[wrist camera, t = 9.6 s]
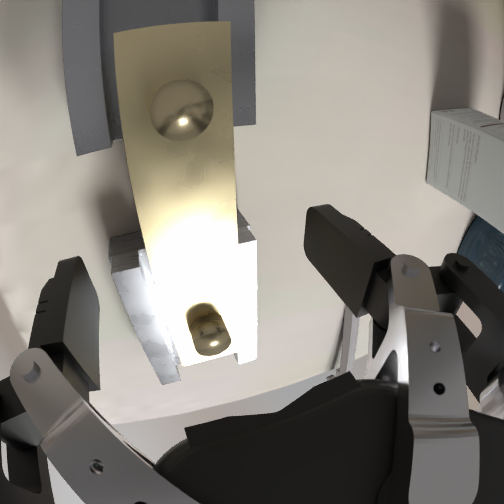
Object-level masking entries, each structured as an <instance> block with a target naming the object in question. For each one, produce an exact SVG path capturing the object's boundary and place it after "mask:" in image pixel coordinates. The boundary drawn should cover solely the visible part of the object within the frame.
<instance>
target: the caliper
mask: <svg viewBox="0 0 504 504" xmlns="http://www.w3.org/2000/svg"><path fill="white" fill-rule="evenodd" d="M359 318H360V317H358V318H356V317H355V315H354V314H353V313H352V312H351V310H350V309H349V308H348V307H347V306H345V313H344V329H343V342H342V353H341V362H340V368H339V369H337V370H336V377H337V376H340V375H342V374H344V373H346V372H348V371H350V372H351V373H352V370H353V363H354V357H355V350H356V343H357V335H358V327H359ZM333 378H335V376H334V375H330V376H328V377H326V379H327V380H331V379H333Z"/></svg>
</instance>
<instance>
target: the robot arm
mask: <svg viewBox="0 0 504 504" xmlns="http://www.w3.org/2000/svg"><path fill="white" fill-rule="evenodd" d="M500 120H501V121H503V122H504V99H503V103H502V108H501V115H500ZM304 250H305V254H306V256H307V258H308V260H309V261H310V262H311V263H312V264H313V266H314V267H315V268H316V269H317V270H318V272H319V273H320V274H321V275H322V276H323V278H324V279H325V280H326V281H327V282H328V284H329V285H330V286H331V287H332V288H333V290H334V291H335V292H336V293H337V294H338V296H339V297H340V298H341V299H342V301H343V302H344V303H345V304H346V306H347V307H348V308H349V309H350V310H351V312H352V313H353V314H354V315H355V317H356V318H358V317H361V316H363V315H366V314H368V313H369V314H370V315H371V316H372V317H371V319H370V322H369V343H368V362H367V369H366V373H365V376H364V379H361V380H356V379H355V378H354V376H353V375H352V373H351V372H350V371H348V372H346V373H344V374H342V375H340V376H337V377H335V378H333V379H331V380H328V381H326V382H324V383H321V384H319V385H317V386H314V387H313V388H312V389H310V390H309V391H307V392H306V393H305V394H303V395H302V396H301V397H299V398H298V399H296V400H295V401H294V402H292V403H291V404H289V405H288V406H286V407H285V408H283V409H282V410H280V411H278V412H275V413H267V414H257V415H245V416H230V417H225V418H222V419H218V420H214V421H210V422H207V423H203V424H198V425H194V426H190V427H186V428H184V429H185V432H186V436H187V439H185V440H183V441H181V442H179V443H178V444H176V445H175V446H174V447H172V448H171V449H169V450H168V451H167V452H166V453H165V454H164V455H163V456H162V457H161V458H160V459H159V460H158V462H157V463H156V464H155V463H154V462H153V461H152V460H150V459H149V458H148V457H146V456H145V455H144V454H143V453H142V452H141V451H139V450H138V449H137V448H136V447H134V446H133V445H132V444H131V443H130V442H129V441H128V440H127V439H126V438H124V437H123V436H122V435H121V434H120V433H119V432H118V431H117V430H116V429H115V428H114V427H113V426H112V425H111V424H110V423H109V422H108V421H107V420H106V419H105V418H104V417H103V416H102V415H101V414H100V413H99V412H98V411H97V410H96V409H95V407H94V406H93V405H92V404H91V403H90V402H89V391H96V390H100V374H99V312H100V307H99V300H98V296H97V293H96V290H95V288H94V286H93V284H92V281H91V279H90V277H89V274H88V272H87V270H86V267H85V265H84V262H83V260H82V258H81V257H80V256H77V257H73V258H69V259H65V260H61V261H59V262H58V265H57V269H56V272H55V276H54V278H51V279H49V280H48V282H47V283H46V284H45V286H44V287H43V289H42V290H41V294H40V298H39V301H38V303H39V305H37V309H36V315H35V318H34V322H33V327H32V332H31V337H30V342H29V347H28V350H25V351H24V352H22V353H21V354H20V355H19V356H18V357H17V358H16V359H15V361H14V363H13V364H12V367H11V370H10V376H9V377H7V378H5V379H3V380H1V381H0V504H55V503H54V498H53V493H52V488H51V482H50V476H49V470H48V463H47V457H48V459H49V460H50V461H51V463H52V464H53V465H54V467H55V468H56V469H57V471H58V472H59V473H60V475H61V476H62V477H63V478H64V480H65V481H66V482H67V483H68V484H69V486H70V487H71V488H72V489H73V490H74V492H75V493H76V494H77V495H78V496H79V497H80V498H81V500H82V501H83V502H84V503H86V504H504V292H503V291H502V290H501V289H500V288H499V287H498V286H497V285H496V284H495V283H494V282H493V281H492V280H491V279H490V278H489V277H487V276H486V275H485V274H484V273H483V272H482V271H481V270H480V269H479V268H478V267H477V266H476V265H475V264H474V263H473V262H471V261H470V260H469V259H468V258H466V257H464V256H462V255H460V254H456V253H449V254H447V255H446V256H445V258H444V260H443V263H442V265H441V266H436V267H428V266H427V265H426V263H424V262H423V261H422V260H420V259H419V258H417V257H414V256H412V255H406V254H401V255H395V254H394V253H393V252H392V251H391V250H390V249H388V248H387V247H386V246H385V245H384V244H383V243H381V242H380V241H379V240H378V239H377V238H376V237H374V236H372V235H371V233H370V232H369V231H367V230H366V229H365V230H364V227H363V226H361V225H360V224H359V223H358V222H356V221H355V220H353V219H351V218H349V217H347V216H345V215H342V214H341V213H340V212H338V211H337V210H336V209H335V208H334V207H332V206H331V205H329V204H325V205H320V206H314V207H310V208H308V210H307V214H306V225H305V235H304ZM463 301H464V302H465V304H466V305H467V306H468V307H469V308H470V309H471V310H472V311H473V312H474V313H475V314H476V315H477V317H478V318H479V319H480V321H481V324H482V331H481V333H480V335H479V336H478V337H477V338H476V337H475V336H474V335H473V334H472V332H470V330H469V329H468V328H467V327H466V326H465V324H464V323H463V322H462V321H461V320H460V319H459V317H458V316H457V315H456V313H457V311H458V309H459V308H460V305H461V304H462V302H463ZM466 385H467V386H468V387H469V389H470V390H471V392H472V393H473V395H474V396H475V397H476V399H477V400H478V402H479V403H480V406H479V407H478V408H477V409H476V411H474V410H470V409H469V408H468V396H467V388H466ZM1 441H2V442H4V443H6V446H7V463H8V473H9V481H8V480H7V478H6V477H5V475H4V472H3V469H2V457H1Z"/></svg>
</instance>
